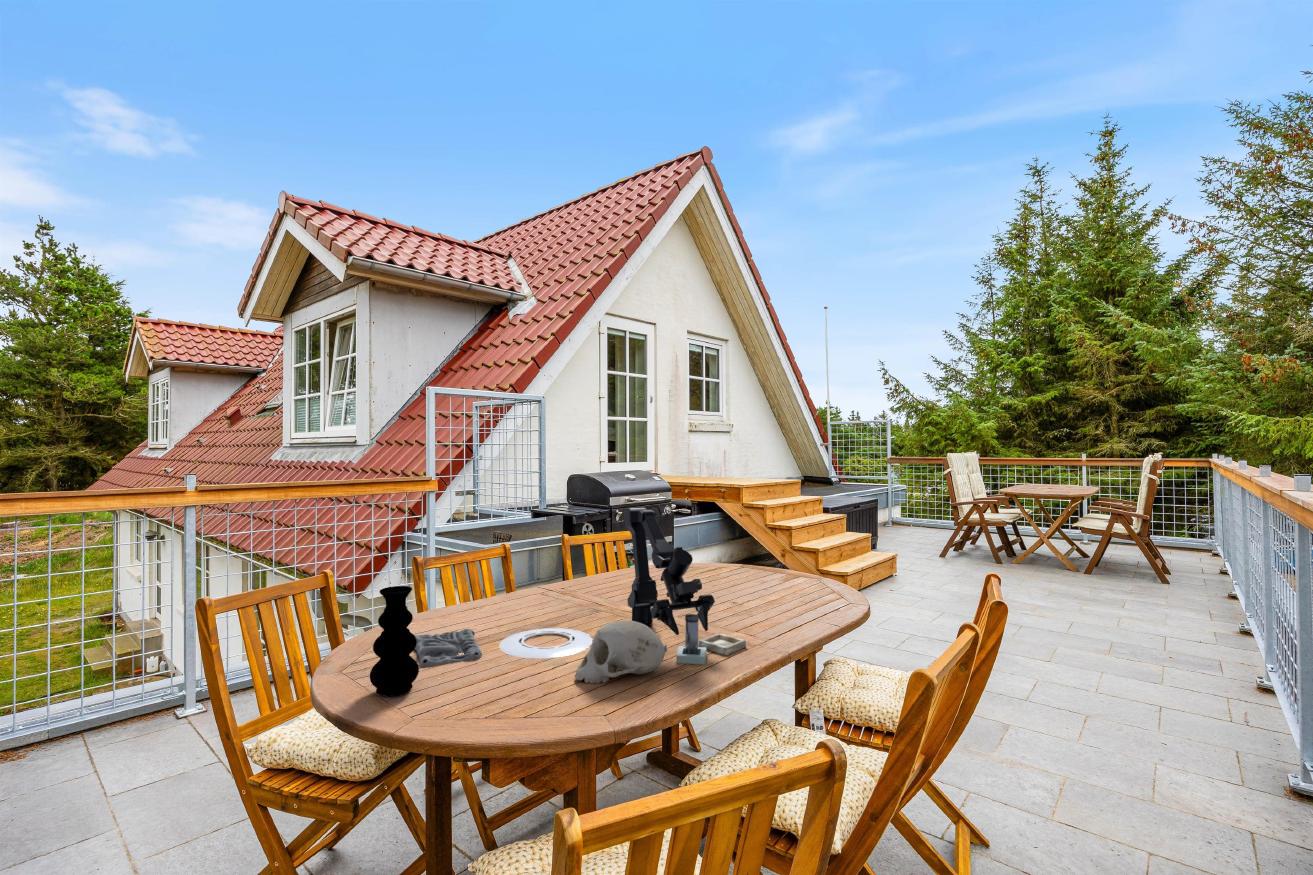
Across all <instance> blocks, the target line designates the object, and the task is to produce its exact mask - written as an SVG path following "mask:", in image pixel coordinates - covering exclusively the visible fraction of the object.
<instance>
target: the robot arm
mask: <svg viewBox="0 0 1313 875" xmlns="http://www.w3.org/2000/svg"><path fill="white" fill-rule="evenodd" d="M623 515H624V516H623V520H624V522H625V527H626V529H627V530H628V532H629V533H630V534H631V542H632V552H633V562H634V564H633V565H634V574H635V577H634V580H633V582H632V584H631V591H630V593H629V595H628V597H627V600H626V602H627V606H628V607H629V608H630V609H631V621H636V622H639V623H642V624H644V625H646V626H648V627H649V628H650V627H651V626H652V625H653V622H654V619H657V621H661V623H663V624H664V625H665V626H667V627H668V628H669V629H670V630H671V631H672V632H673V633H674V634H675V635H676V636H679V635H680V630H679V628H678V625H677V621H676V619H675V616H674V612H673V611H677V610H685V609H695V611H696V612H697V614H696V615H698V616H699V622H700V624H701V626H702V627H703V630H704V631H705V632H708V630H709V620H708V619H709V617H708V616H709V611H710V610H711V609H712V607H713V606H714V604H715V602H716V599H715V598H714V596H713V595H712V594H701V595H699V596H698V598H697V600H692V599H693V598H694V597H695V595H694V594H698V593H699V591H700V590H703V589H702V588H703V584H702V582H701V579H700V578H694V579H692V580H691V581H685V580H684V577H683V576H684V575H686V573H687V571H688V570H689V568H690V566H691V565H692V562H693V560H694V559H693V556H692V554H691V553H690V552H688V551H687V550H684V549H683V547H682V546H679V547H674V545H673V544H671V543H670V542H668V541H667V540H666V537H665V535H664V533H663V531H662V530H661V526H660V525H659V524H660V523H659V522H658V519H657V516H656V515H657V514H656V512H655V511H654V510H652V509H647V508H646V507H635V508H634V507H632V508H630V507H629V508H627V510H626V511H625V512H624V514H623ZM647 538H648V541H649V544H650V546H651V548H652V552H651V554H650V555H651V561H652V564H653V565H654V567H655V568H656V569H663V571H662V573H661V576H660V581H661V582H664V585H665V588H666V591H667V592H666V597H667V598H665V599H658V596H659V594H658V590H657V581H656V579H653V578H652V577H651V576H650V566H649V555H648V546H647ZM668 598H669V599H668Z"/></svg>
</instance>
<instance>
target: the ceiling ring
mask: <svg viewBox="0 0 1313 875" xmlns="http://www.w3.org/2000/svg"><path fill="white" fill-rule="evenodd" d="M586 633H587V632H585V631H581V630H577V629H572V628H571V629H570V628H563V627H560V628H558V627H552V628H551V627H549V628H547V627H546V628H545V627H544V628H537V629H528V630H524V631H519V632H517V633H514V634H511V635H509V636H506V637H505V638H504V639H503V640H501V641H500V643H499V649H500V650H501V651H502V652H503V653H505V654H508V655H510V656H513V657H517V658H525V659H555V658H560V657H566V656H570V655H575V654H577V653H578V654H579V653H580V652H583V651H585V650H587V649H589V646H590V645H591V644H592V640H593V639H594V638H593V637H592V636H591V635H590V634H588V633H587V634H586ZM540 635H560V636H564V637H567V638H568V639H569V640H568V641H567V642H565V643H563V644H559V645H554V646H546V647H545V646H544V647H543V646H531V645H529V644H527V643H525V641H526V640H527V639H529V638H532V637H536V636H540ZM589 635H590V636H591V637H592V638H593V639H592V638H591V637H590V636H589ZM573 638H574V639H573ZM520 641H521V642H520ZM590 647H591V646H590ZM586 648H587V649H586Z"/></svg>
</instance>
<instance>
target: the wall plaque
mask: <svg viewBox="0 0 1313 875" xmlns="http://www.w3.org/2000/svg"><path fill="white" fill-rule="evenodd" d="M413 635H414V636H415V637H416V640H417V645H416V647H415V649H414V651H416V654H417V655H418V658H419V663H418V666H419V668H430V667H431V668H435V667H440V666H445V664H446V665H449V663H450V664H455V663H454V662H456V663H462V662H461V661H464V662H470V661H469V660H473V661H478V660H477V659H479V660H481V659H482V656H483V652H482V650H481V649H480V647H479V644H478V642H477V641H476V639H475V635H476V633H475V631H474V630H473V629H470V628H464V629H461V630H459V631H457V630H453V631H451V632H448V631H447V632H443V633H442V634H439V633H435V634H434V635H432V634H429V633H428V634H419V635H417V634H413ZM458 653H464V655H463V654H461V655H459V654H458ZM457 655H458V656H457ZM480 658H481V659H480ZM425 661H426V662H425Z"/></svg>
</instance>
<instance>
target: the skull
mask: <svg viewBox="0 0 1313 875" xmlns="http://www.w3.org/2000/svg"><path fill="white" fill-rule="evenodd" d="M665 655H666V651H665V649H664V647H663V642H662V640H661V639H660V637H659V636H658V634H657V633H655V632H654V630H653V629H652V628H650V627H648V626H646V625H644V624H642V623H639V622H636V621H632V620H619V621H612V622H610V623H605V624H604V625H602V626H601V627H600V628H599V629H597V631H596V632H595V634H594V636H593V642H592V645H591V646H590V649H589V651H588V652H587V653H586V654H585V656H584V657H583V659H582V661H580V664H579V665H578V667H577V669H576V671H575V674H574V678H575V680H577V681H583V680H584V682H585V683H590V684H595V683H597V684H599V683H602V682H603V683H606V682H609V681H610V678H616V677H619V676H622V675H625V674H635V675H640V674H641V675H643V674H646V673H651V672H653V671H655V669H657V668H658V667H659V666H661V664H662V663H663V660H664V658H665Z"/></svg>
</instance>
